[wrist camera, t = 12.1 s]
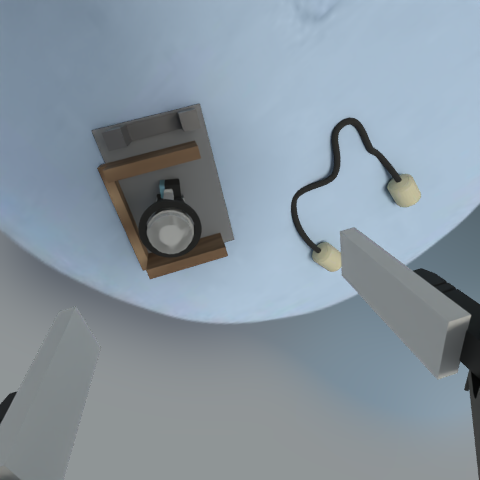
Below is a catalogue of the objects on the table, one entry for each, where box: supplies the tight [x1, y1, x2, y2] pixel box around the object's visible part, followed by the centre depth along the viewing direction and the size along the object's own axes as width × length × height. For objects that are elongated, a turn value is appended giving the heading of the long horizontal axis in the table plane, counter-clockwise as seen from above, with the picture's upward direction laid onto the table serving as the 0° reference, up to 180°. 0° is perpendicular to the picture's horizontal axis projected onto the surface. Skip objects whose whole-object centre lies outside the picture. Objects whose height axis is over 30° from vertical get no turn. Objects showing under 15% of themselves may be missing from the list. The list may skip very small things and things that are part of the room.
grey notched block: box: [102, 108, 201, 151], centre depth 28 cm, size 2×8×4 cm, turn 104°
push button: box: [138, 179, 202, 258], centre depth 29 cm, size 7×5×10 cm
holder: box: [97, 141, 228, 279], centre depth 32 cm, size 12×10×4 cm
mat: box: [92, 104, 234, 253], centre depth 33 cm, size 16×11×1 cm
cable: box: [291, 118, 421, 272], centre depth 38 cm, size 16×16×4 cm
